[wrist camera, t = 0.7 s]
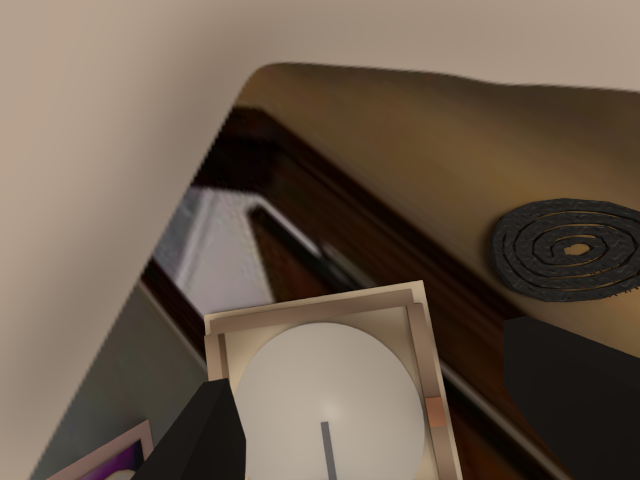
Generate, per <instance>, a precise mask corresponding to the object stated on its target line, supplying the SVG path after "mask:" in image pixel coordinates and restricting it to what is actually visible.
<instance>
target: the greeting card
mask: <svg viewBox="0 0 640 480" xmlns="http://www.w3.org/2000/svg"><path fill="white" fill-rule="evenodd" d="M153 450H154V448H153V443H152V437H151V431H150V425H149V419H147V420H146V421H144V422H142V423H141V424H139V425H137V426H136V427H134V428H132V429H130V430H129V431H127V432H125V433H124V434H122V435H120V436H119V437H117V438H115V439H113V440H112V441H110V442H108V443H107V444H105V445H103V446H102V447H100V448H98V449H97V450H95V451H93V452H91V453H90V454H88V455H86V456H85V457H83V458H81V459H80V460H78V461H76V462H75V463H73V464H71V465H69V466H68V467H66V468H64V469H63V470H61V471H59V472H58V473H56V474H54V475H53V476H51V477H49V478H47V479H46V480H130V479H131V478H132V476H133V475H134V474H135V473H136V471H137V470H138V469H139V468H140V467H141V465H142V464H143V463H144V462H145V460H146V459H147V458H148V456H149V455H150V454H151V452H152V451H153Z"/></svg>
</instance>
